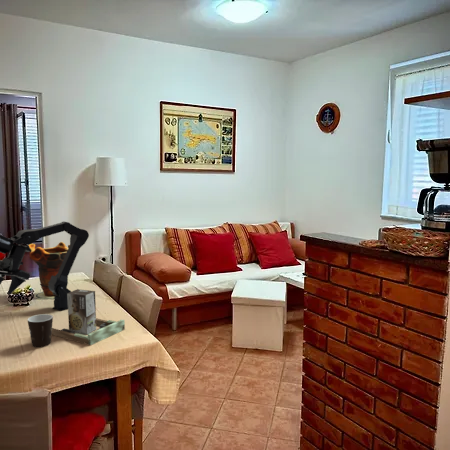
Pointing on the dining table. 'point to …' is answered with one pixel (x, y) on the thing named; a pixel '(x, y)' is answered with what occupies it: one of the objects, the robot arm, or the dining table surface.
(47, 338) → the coffee mug
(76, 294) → the coffee box
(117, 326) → the rectangular frame
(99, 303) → the dining table surface
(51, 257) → the decorative vase
